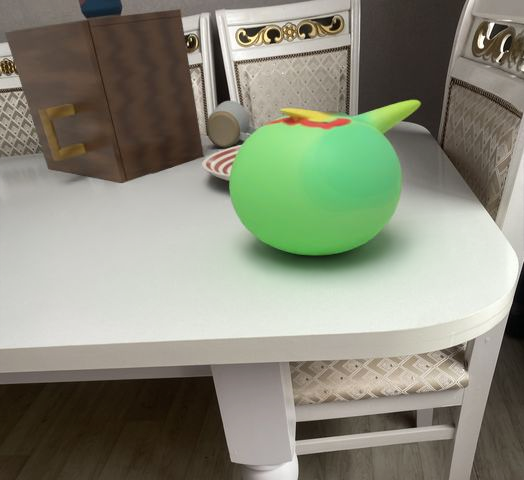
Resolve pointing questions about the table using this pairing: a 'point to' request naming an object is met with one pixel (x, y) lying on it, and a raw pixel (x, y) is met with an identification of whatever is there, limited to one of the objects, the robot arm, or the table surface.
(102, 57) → the cupboard
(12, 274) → the table surface
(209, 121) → the ceramic mug
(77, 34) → the cupboard door
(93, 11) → the soda can
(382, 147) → the toy bird
